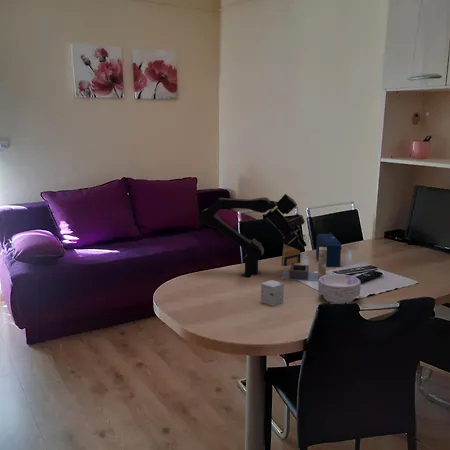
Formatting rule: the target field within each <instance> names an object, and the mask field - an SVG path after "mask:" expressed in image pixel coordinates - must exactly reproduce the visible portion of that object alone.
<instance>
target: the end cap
mask: <svg viewBox="0 0 450 450" xmlns="http://www.w3.org/2000/svg"><path fill="white" fill-rule="evenodd" d="M289 271H290V279H302V280H308V274H309V272H310V265H308V264H291V265H290V268H289Z"/></svg>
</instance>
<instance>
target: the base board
mask: <svg viewBox="0 0 450 450" xmlns="http://www.w3.org/2000/svg"><path fill="white" fill-rule="evenodd" d="M329 274H330V273H326V275H329ZM280 280H287V281H288V280H289V281H302V282H303V281H304V282H315V283H316V282H317V283H318V272H311V271H309V274H308V280H302V279H290V270H283V272H282V275H281V277H280Z"/></svg>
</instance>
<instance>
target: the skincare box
mask: <svg viewBox="0 0 450 450" xmlns="http://www.w3.org/2000/svg"><path fill="white" fill-rule="evenodd" d="M260 287H261V288H260V302H261V303H262V304H265V305H269V306H271V307H275V306H277V305H280V304H282V303H284V290H285V289H284V288H285V283H282V282H280V281H277V280H273V279H271V280H270V279H269V280H267V281H264V282H262V283H261V285H260Z"/></svg>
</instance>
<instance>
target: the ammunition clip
mask: <svg viewBox="0 0 450 450" xmlns="http://www.w3.org/2000/svg"><path fill="white" fill-rule="evenodd" d="M282 248H283V249H282V256H281V266H283V267H285V266H286V267H287V266H291V265H292V264H294V265H296V264H301V251H300V250H297V249H295V248H292V247H290V246H287V245H285V244H284V243H283V247H282Z"/></svg>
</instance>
